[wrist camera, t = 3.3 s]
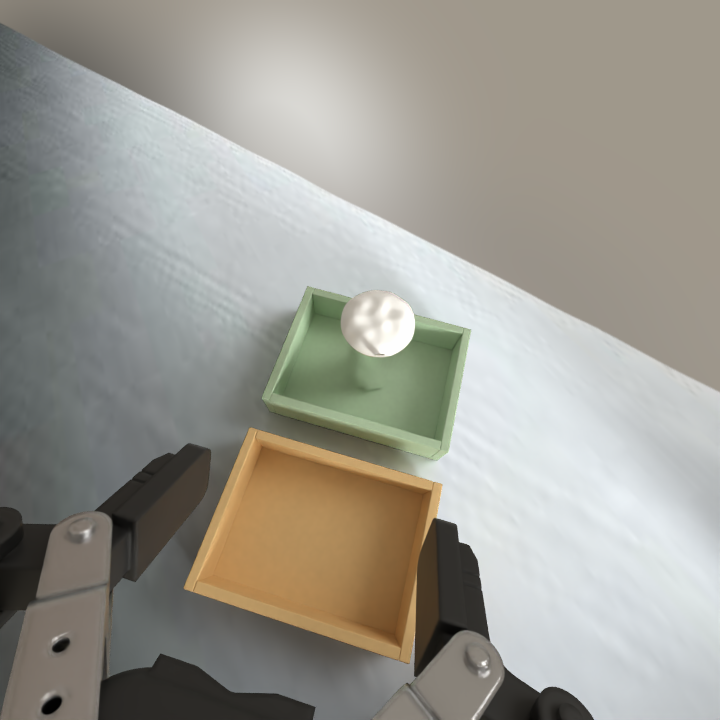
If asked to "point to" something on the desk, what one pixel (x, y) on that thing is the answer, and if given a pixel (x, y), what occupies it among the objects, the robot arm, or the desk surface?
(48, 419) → the desk surface
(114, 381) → the desk surface
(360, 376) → the milkshake
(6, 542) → the robot arm
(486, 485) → the desk surface
